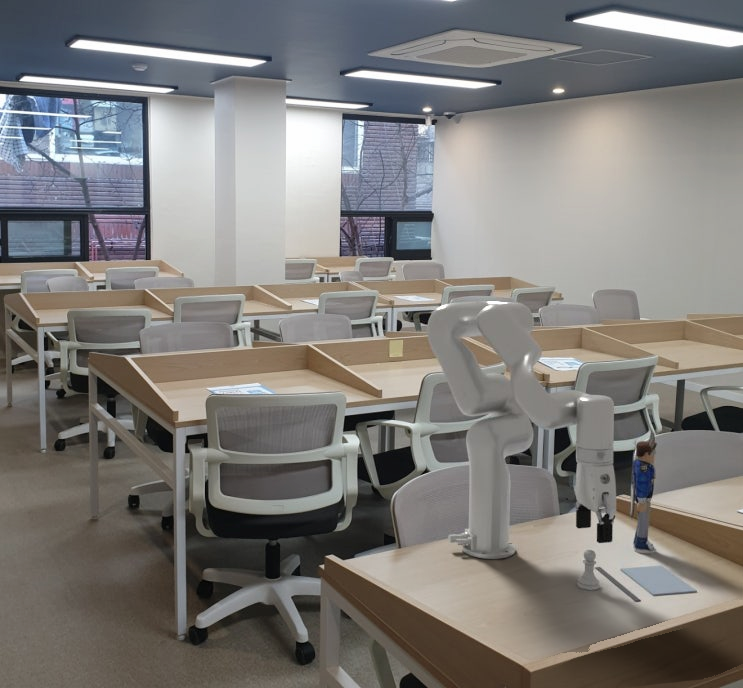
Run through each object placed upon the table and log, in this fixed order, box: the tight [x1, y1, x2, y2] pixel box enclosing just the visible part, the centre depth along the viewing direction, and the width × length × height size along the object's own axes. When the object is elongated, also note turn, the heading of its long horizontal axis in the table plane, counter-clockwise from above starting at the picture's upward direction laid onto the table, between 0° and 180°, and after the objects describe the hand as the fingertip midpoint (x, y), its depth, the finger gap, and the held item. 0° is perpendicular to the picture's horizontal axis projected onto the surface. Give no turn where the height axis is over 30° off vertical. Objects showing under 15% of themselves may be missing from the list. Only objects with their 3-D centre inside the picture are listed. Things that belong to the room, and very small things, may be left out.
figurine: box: [630, 425, 658, 554], centre depth 201 cm, size 10×6×30 cm, turn 168°
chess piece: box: [577, 549, 601, 591], centre depth 181 cm, size 5×5×8 cm
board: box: [594, 565, 698, 602], centre depth 184 cm, size 15×18×1 cm
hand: (593, 534), depth 179 cm, fingers open, 9 cm apart
